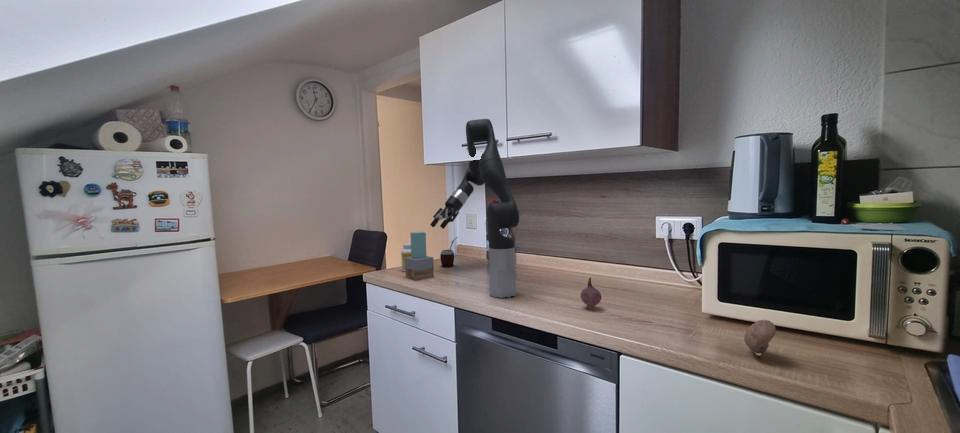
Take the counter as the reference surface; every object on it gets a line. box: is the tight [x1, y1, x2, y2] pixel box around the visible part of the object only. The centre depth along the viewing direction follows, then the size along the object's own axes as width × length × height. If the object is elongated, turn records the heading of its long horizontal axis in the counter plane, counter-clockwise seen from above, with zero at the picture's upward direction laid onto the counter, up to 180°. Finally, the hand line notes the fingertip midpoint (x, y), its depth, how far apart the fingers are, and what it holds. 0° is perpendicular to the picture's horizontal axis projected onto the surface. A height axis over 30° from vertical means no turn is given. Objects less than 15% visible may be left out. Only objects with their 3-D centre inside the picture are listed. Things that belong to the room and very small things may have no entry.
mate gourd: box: [439, 236, 458, 268], centre depth 181 cm, size 8×8×15 cm
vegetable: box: [580, 277, 602, 308], centre depth 114 cm, size 6×6×10 cm
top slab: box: [405, 255, 434, 271], centre depth 160 cm, size 9×9×4 cm
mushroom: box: [743, 319, 777, 354], centre depth 80 cm, size 8×6×8 cm
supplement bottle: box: [400, 242, 411, 273], centre depth 174 cm, size 7×7×13 cm
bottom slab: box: [404, 268, 435, 282], centre depth 160 cm, size 9×9×4 cm
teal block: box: [410, 231, 427, 259], centre depth 160 cm, size 5×5×11 cm
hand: (436, 226), depth 165 cm, fingers open, 8 cm apart
